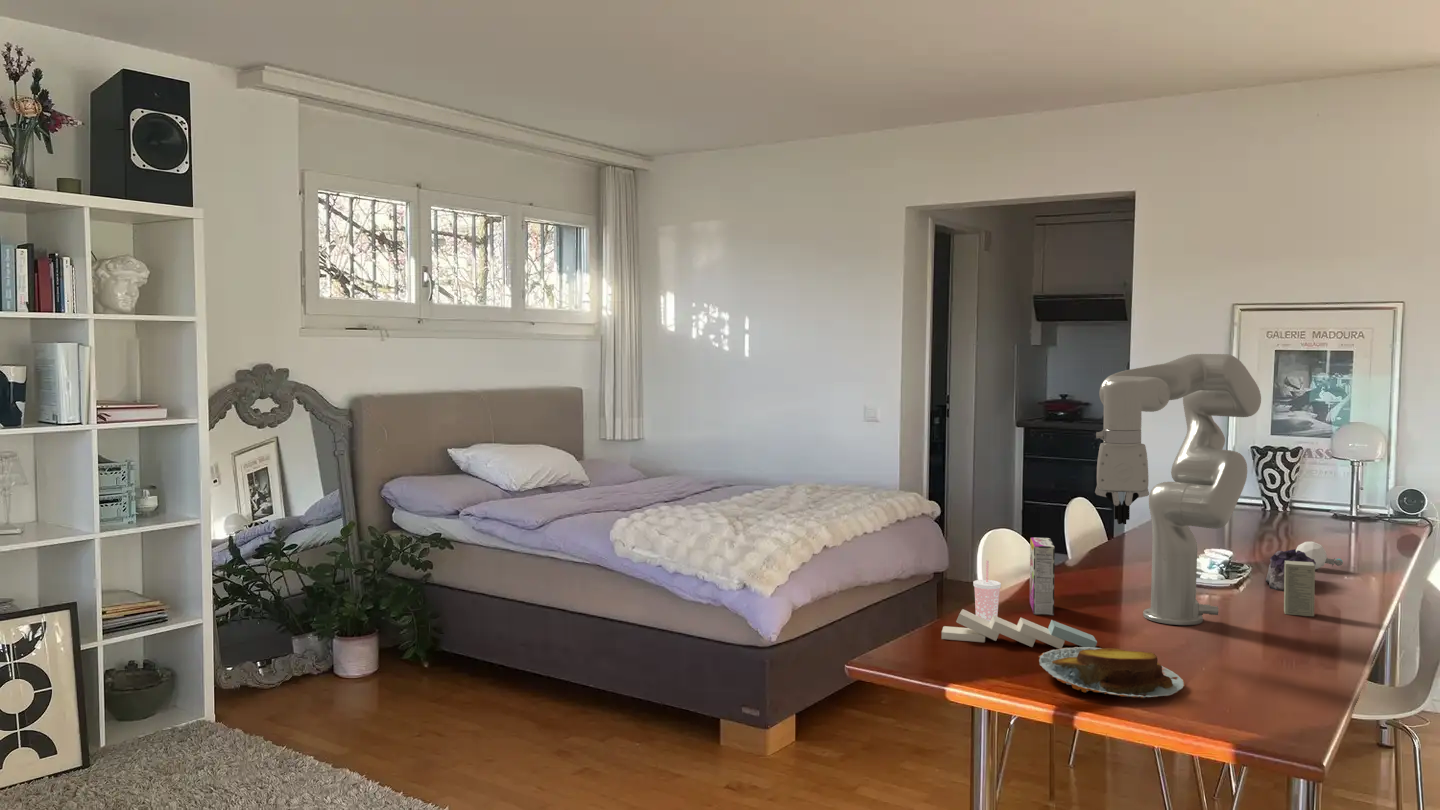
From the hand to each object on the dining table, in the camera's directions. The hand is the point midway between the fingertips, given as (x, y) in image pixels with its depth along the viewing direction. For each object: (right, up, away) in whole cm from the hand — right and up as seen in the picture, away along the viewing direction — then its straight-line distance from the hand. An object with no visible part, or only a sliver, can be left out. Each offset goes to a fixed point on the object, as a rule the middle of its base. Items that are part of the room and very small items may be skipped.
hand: (1121, 522), depth 226 cm
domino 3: (-20, -24, -3) cm, 32 cm away
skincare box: (+50, -24, +23) cm, 60 cm away
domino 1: (-29, -25, +1) cm, 38 cm away
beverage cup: (-25, -24, +15) cm, 38 cm away
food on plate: (-13, -27, -27) cm, 41 cm away
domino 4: (-14, -24, -4) cm, 29 cm away
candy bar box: (-9, -24, +26) cm, 36 cm away
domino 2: (-26, -24, -1) cm, 35 cm away
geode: (+65, -23, +54) cm, 87 cm away
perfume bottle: (+82, -22, +72) cm, 111 cm away
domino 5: (-8, -25, -5) cm, 26 cm away
